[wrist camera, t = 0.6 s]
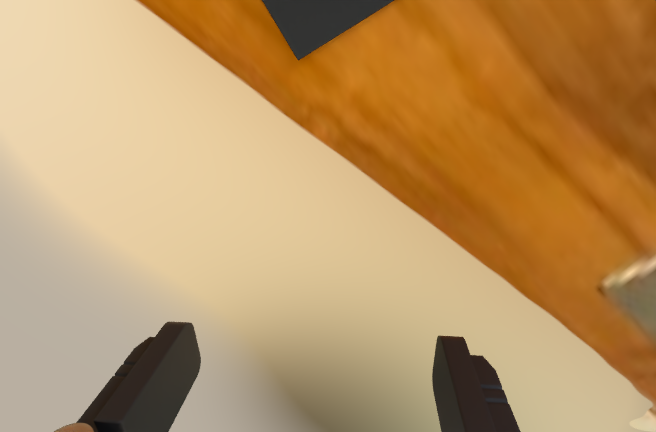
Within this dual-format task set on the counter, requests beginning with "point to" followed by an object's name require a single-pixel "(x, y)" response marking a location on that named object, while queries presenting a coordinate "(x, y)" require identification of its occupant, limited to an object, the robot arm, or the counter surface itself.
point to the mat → (318, 20)
